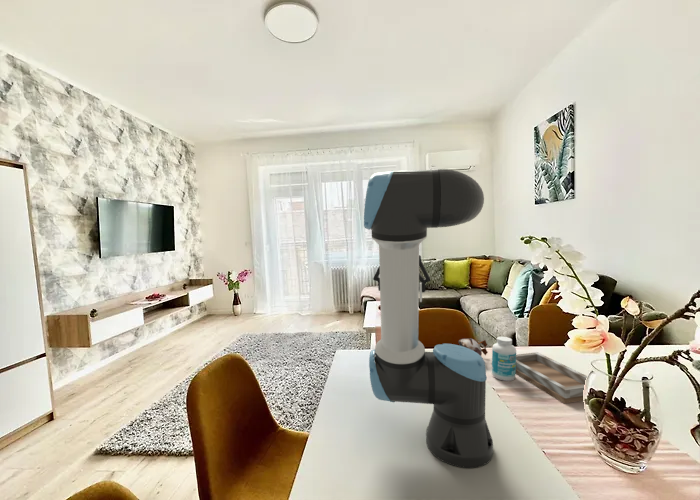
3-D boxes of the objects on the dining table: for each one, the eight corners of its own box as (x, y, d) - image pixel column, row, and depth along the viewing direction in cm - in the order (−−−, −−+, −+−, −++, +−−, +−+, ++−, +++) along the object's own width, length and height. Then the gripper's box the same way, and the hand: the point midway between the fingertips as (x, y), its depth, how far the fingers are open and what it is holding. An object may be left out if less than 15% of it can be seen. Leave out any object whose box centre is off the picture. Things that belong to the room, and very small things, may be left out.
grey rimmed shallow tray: (605, 396, 98) (605, 384, 98) (563, 403, 95) (564, 390, 94) (538, 362, 123) (538, 352, 123) (503, 366, 120) (503, 356, 120)
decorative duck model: (465, 353, 117) (437, 339, 131) (465, 372, 118) (438, 356, 132) (494, 342, 123) (465, 330, 137) (495, 361, 124) (465, 346, 138)
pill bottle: (497, 382, 108) (498, 342, 107) (488, 372, 116) (488, 335, 115) (519, 381, 108) (520, 342, 107) (509, 371, 116) (509, 334, 115)
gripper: (437, 241, 116) (437, 299, 118) (369, 241, 123) (369, 297, 124) (437, 242, 109) (437, 304, 110) (364, 242, 115) (365, 301, 117)
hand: (401, 300), depth 117 cm, fingers open, 13 cm apart
